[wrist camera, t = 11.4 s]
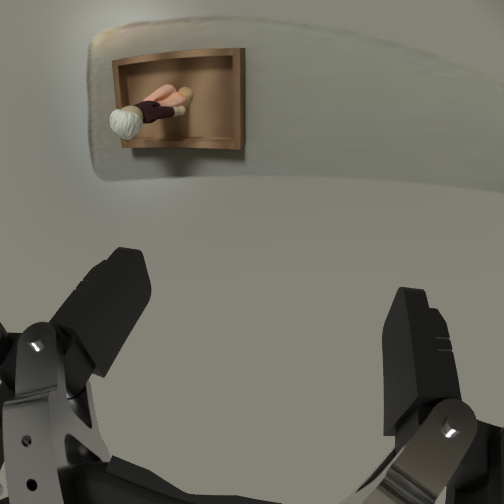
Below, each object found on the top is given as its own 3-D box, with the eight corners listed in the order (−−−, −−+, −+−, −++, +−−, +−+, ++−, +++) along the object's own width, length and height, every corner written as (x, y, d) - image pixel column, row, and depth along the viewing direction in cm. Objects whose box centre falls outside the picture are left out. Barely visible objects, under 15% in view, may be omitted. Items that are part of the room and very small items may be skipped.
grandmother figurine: (198, 77, 33) (147, 96, 23) (204, 106, 35) (157, 138, 25) (142, 90, 35) (80, 116, 25) (148, 117, 37) (91, 152, 27)
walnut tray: (244, 48, 31) (239, 48, 29) (244, 143, 38) (240, 149, 36) (122, 58, 33) (111, 60, 31) (131, 141, 40) (122, 148, 38)
